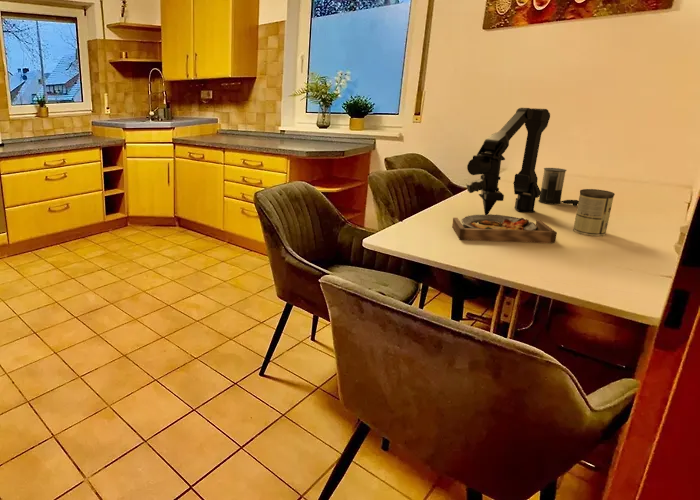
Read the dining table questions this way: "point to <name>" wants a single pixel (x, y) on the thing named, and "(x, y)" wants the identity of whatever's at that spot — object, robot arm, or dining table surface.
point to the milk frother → (553, 187)
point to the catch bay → (506, 233)
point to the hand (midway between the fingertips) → (486, 214)
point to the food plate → (492, 222)
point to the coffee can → (593, 212)
